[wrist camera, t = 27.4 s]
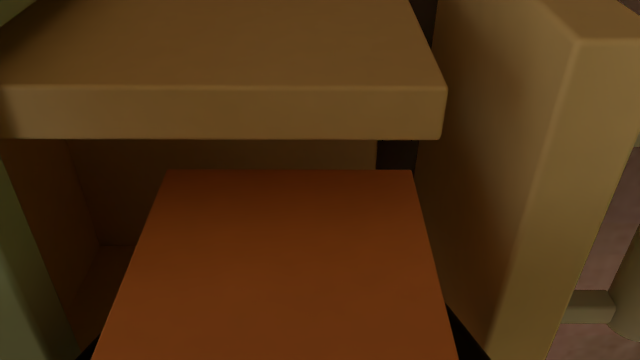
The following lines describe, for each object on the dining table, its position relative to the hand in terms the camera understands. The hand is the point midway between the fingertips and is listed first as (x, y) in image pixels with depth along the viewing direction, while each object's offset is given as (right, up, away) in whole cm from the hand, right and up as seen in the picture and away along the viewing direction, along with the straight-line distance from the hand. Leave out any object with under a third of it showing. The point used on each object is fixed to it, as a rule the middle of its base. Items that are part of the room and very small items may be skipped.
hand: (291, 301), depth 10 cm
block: (0, +1, +1) cm, 1 cm away
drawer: (+1, +4, +5) cm, 7 cm away
